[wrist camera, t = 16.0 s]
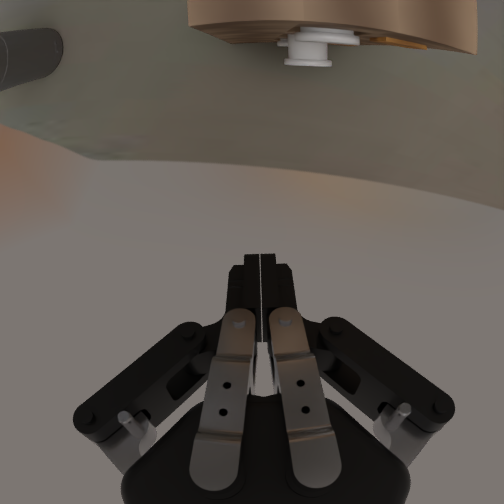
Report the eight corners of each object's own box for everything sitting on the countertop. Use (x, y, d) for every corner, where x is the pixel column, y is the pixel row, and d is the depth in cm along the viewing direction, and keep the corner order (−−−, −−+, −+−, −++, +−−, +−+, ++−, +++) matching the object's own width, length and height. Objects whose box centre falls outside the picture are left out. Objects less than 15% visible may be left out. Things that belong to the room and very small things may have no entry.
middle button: (282, 63, 26) (286, 65, 23) (280, 21, 23) (285, 16, 20) (326, 65, 26) (336, 67, 23) (325, 23, 23) (336, 19, 20)
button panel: (231, 45, 37) (189, 31, 12) (228, 0, 32) (184, -83, 7) (342, 47, 36) (476, 59, 11) (341, 3, 32) (471, -43, 7)
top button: (291, 41, 19) (299, 39, 15) (288, -13, 16) (296, -26, 12) (348, 45, 18) (368, 45, 15) (347, -8, 16) (367, -18, 12)
